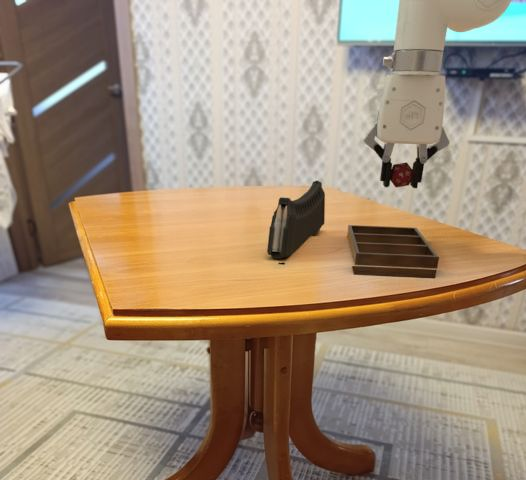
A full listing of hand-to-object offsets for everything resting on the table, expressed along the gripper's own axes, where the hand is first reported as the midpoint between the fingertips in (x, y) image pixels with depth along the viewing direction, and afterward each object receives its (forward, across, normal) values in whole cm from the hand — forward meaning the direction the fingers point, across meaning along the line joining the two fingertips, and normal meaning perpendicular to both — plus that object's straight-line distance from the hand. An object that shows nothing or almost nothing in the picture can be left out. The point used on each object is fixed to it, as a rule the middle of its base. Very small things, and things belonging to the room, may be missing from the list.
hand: (399, 185), depth 88 cm
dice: (0, 0, 0) cm, 0 cm away
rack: (+13, -1, -2) cm, 13 cm away
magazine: (+13, -17, +3) cm, 21 cm away
